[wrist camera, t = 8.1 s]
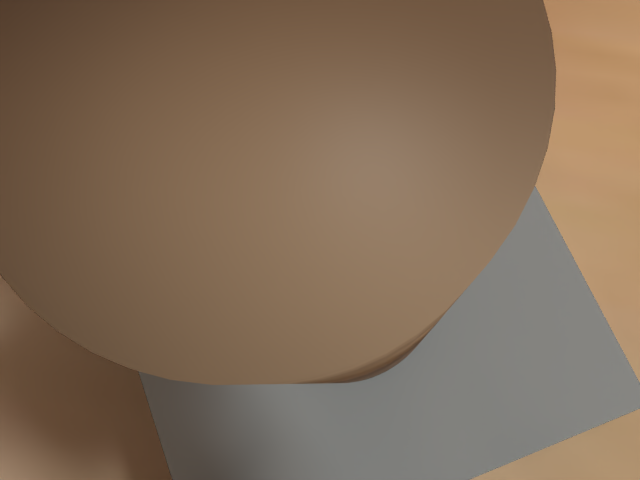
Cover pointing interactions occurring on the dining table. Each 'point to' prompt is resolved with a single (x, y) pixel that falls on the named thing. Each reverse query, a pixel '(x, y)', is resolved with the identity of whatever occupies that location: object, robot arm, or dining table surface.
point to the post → (263, 174)
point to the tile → (425, 387)
